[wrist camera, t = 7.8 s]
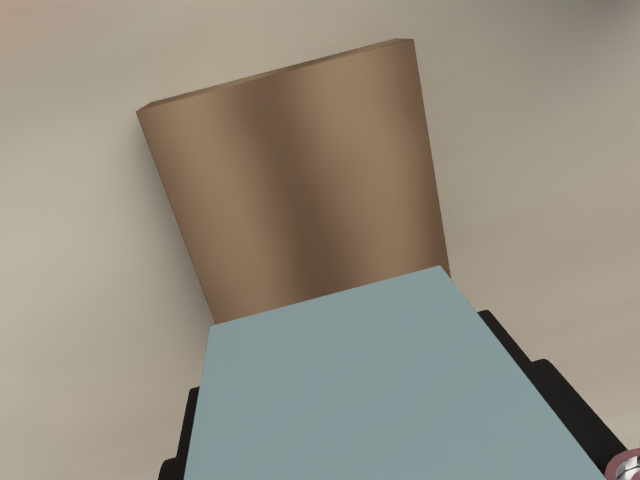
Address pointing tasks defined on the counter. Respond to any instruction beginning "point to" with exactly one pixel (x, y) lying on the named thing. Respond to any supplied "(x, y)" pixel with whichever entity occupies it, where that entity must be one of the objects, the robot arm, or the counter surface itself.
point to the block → (374, 394)
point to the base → (301, 179)
